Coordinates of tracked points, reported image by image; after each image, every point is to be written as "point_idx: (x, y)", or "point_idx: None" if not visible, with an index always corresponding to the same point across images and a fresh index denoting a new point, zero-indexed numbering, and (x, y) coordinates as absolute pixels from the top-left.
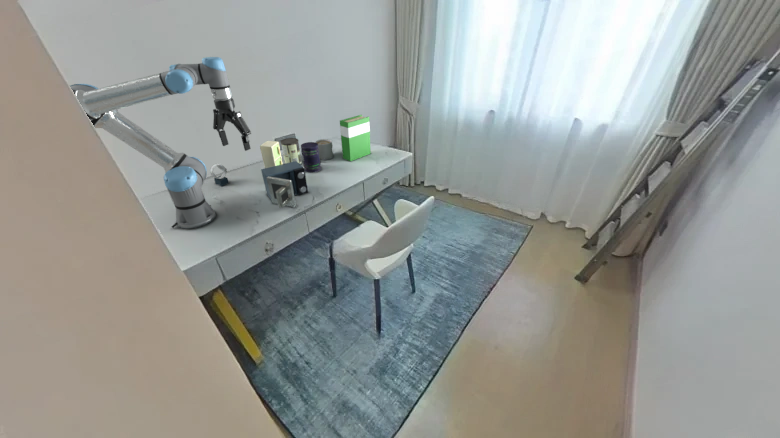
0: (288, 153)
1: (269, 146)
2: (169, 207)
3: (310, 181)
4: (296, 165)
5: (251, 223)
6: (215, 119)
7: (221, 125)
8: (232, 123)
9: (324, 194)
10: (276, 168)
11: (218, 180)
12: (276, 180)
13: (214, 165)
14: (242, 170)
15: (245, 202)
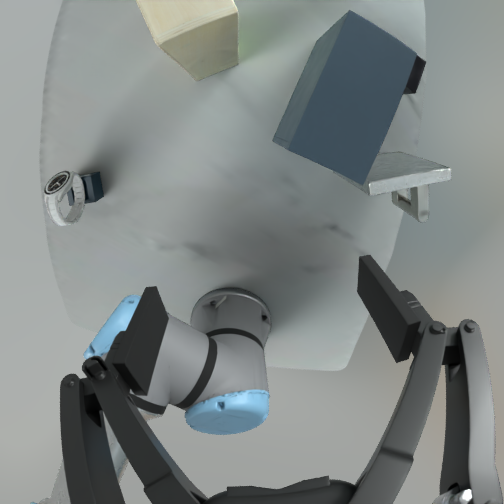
0: None
1: (223, 14)
2: None
3: (322, 9)
4: (388, 48)
5: (355, 265)
6: (117, 486)
7: (157, 440)
8: (364, 471)
9: None
10: (342, 106)
11: (87, 202)
12: (407, 187)
13: (54, 214)
14: (57, 100)
15: (257, 211)
